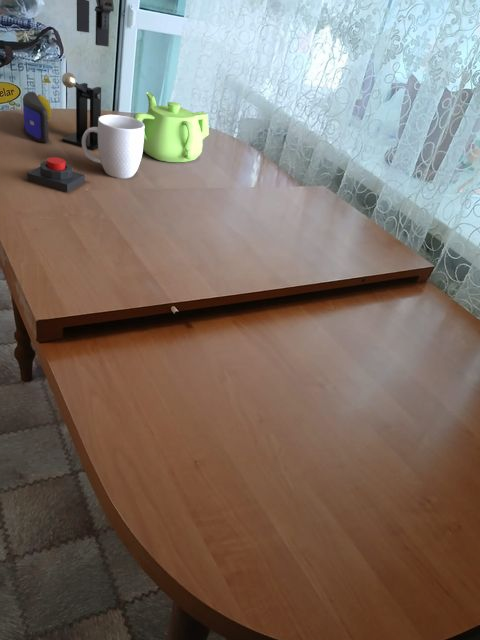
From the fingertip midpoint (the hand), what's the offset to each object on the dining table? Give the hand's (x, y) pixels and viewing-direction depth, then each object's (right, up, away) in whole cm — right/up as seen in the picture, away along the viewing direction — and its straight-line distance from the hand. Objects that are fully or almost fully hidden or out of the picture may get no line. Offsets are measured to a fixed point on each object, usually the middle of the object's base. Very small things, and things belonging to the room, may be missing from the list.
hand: (92, 38), depth 126 cm
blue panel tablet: (-23, -13, +25) cm, 36 cm away
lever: (-9, -5, +15) cm, 18 cm away
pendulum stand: (-10, -13, +28) cm, 33 cm away
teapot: (+11, -14, +34) cm, 39 cm away
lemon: (-25, -6, +33) cm, 42 cm away
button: (-8, -30, +1) cm, 31 cm away
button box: (-9, -33, +3) cm, 34 cm away
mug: (+2, -27, +14) cm, 30 cm away
